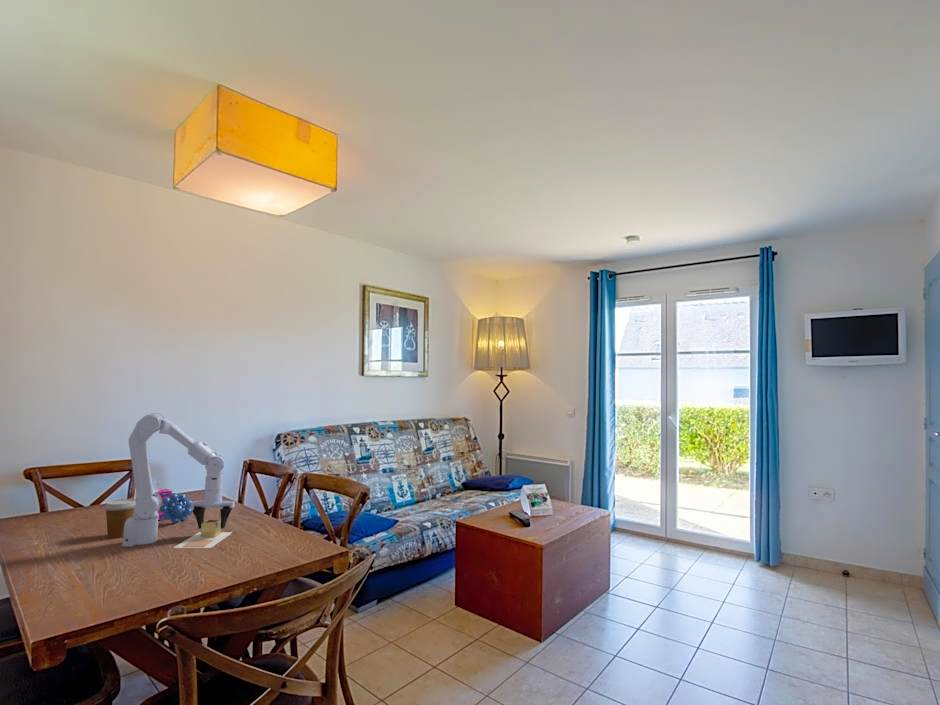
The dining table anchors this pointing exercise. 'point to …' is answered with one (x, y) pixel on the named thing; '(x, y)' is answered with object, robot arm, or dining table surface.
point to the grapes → (176, 508)
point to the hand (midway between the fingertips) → (211, 527)
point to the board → (202, 541)
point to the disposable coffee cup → (118, 516)
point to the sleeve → (211, 528)
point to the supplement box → (162, 494)
